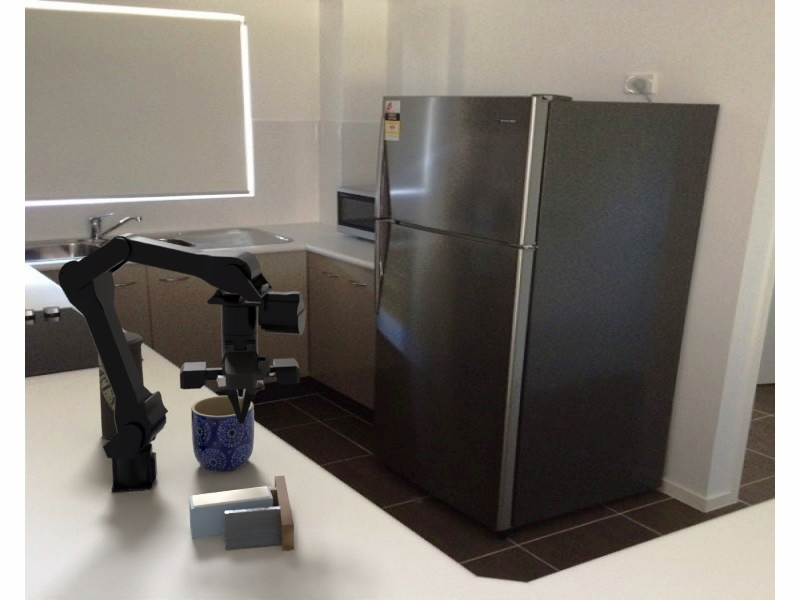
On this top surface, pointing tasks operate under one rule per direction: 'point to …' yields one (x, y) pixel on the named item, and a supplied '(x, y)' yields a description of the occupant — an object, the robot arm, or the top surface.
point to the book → (223, 508)
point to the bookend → (252, 528)
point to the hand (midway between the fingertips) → (241, 423)
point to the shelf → (283, 512)
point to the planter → (221, 434)
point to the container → (106, 391)
